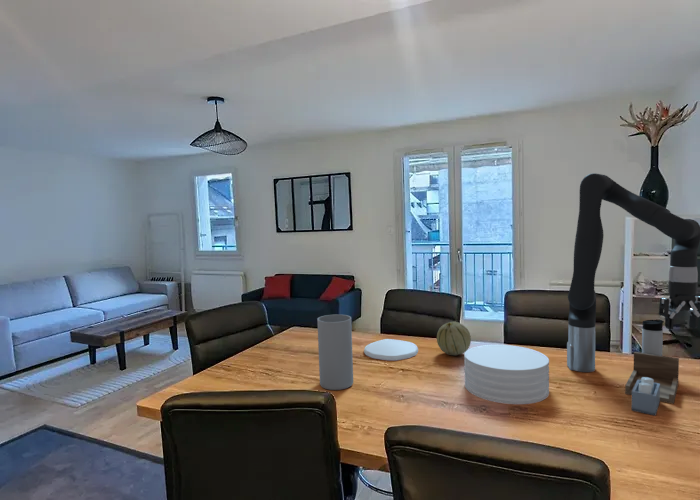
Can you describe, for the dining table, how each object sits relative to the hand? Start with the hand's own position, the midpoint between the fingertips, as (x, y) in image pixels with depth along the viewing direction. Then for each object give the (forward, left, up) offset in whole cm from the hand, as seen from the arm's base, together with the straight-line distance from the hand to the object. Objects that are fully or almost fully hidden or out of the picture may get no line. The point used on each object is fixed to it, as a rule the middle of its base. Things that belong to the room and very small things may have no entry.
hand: (681, 328), depth 141 cm
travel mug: (-2, +18, -22) cm, 28 cm away
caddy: (-15, -14, -22) cm, 30 cm away
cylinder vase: (-116, -16, -22) cm, 119 cm away
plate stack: (-56, -7, -22) cm, 60 cm away
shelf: (-8, +1, -22) cm, 23 cm away
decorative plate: (-103, +27, -22) cm, 108 cm away
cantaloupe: (-75, +27, -22) cm, 82 cm away
